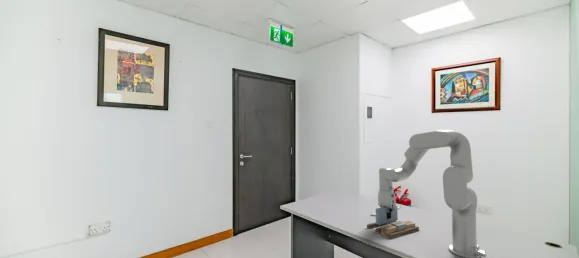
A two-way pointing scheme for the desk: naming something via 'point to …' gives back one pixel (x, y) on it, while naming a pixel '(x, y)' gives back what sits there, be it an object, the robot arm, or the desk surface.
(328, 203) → the desk surface
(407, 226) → the offcut
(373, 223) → the offcut rack
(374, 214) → the baseboard molding
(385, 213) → the tall sheet
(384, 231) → the offcut
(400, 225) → the offcut
